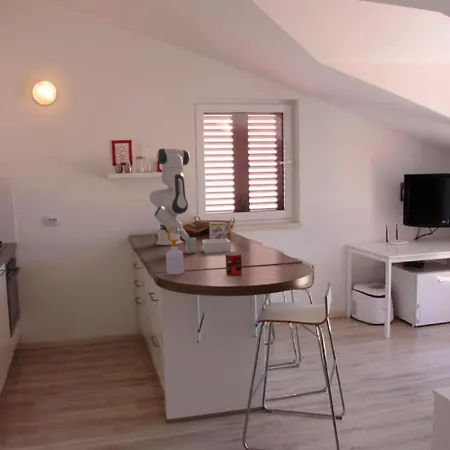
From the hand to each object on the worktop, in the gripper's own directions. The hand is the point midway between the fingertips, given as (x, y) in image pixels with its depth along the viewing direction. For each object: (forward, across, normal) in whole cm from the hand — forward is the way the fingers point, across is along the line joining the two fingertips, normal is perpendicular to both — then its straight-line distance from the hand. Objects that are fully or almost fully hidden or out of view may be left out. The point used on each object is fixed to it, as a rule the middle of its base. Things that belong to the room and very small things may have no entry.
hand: (191, 241), depth 354 cm
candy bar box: (+19, +17, -9) cm, 27 cm away
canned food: (+14, -74, -4) cm, 76 cm away
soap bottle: (-6, -61, +16) cm, 63 cm away
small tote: (+4, 0, +5) cm, 7 cm away
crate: (+16, -1, -6) cm, 17 cm away
